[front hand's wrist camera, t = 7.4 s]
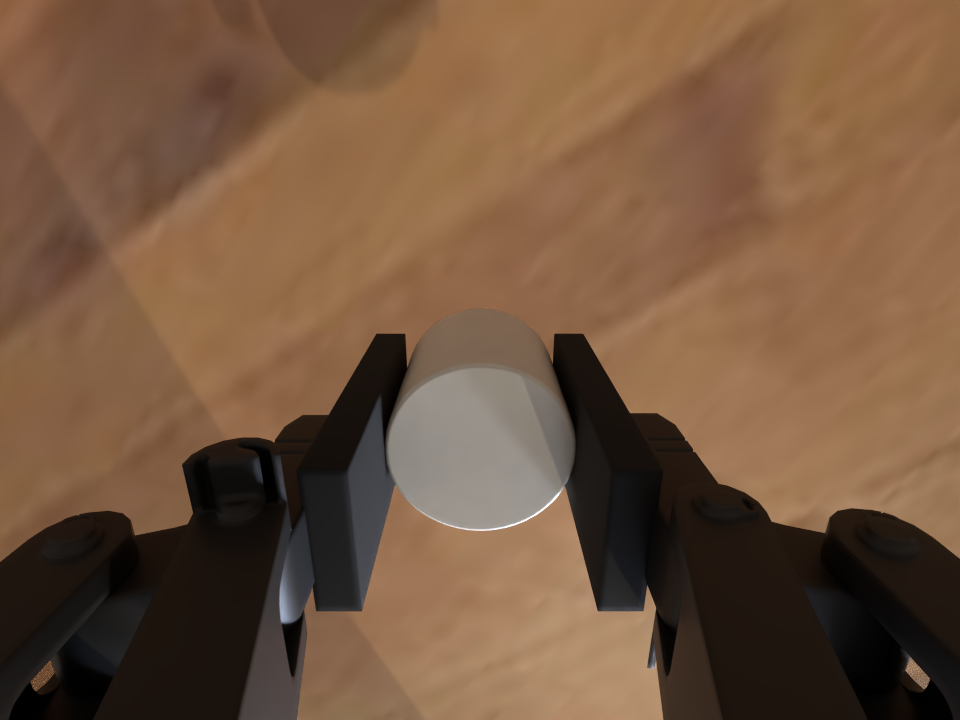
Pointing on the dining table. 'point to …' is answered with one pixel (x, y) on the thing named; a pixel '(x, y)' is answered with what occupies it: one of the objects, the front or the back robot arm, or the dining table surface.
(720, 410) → the dining table surface
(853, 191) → the dining table surface
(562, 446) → the cylinder
